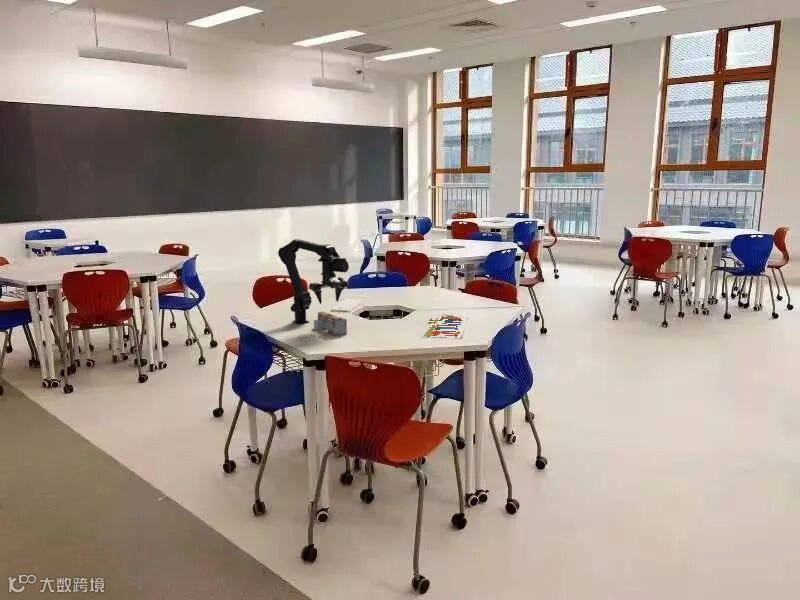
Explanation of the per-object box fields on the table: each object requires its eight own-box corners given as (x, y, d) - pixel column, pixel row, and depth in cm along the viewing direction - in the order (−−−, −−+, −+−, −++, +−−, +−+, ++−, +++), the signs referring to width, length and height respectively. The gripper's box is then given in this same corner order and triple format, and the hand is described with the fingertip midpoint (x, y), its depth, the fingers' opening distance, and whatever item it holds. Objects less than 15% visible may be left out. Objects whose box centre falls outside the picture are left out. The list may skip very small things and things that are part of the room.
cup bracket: (327, 333, 282) (327, 318, 281) (340, 331, 286) (340, 317, 284) (333, 336, 277) (333, 321, 276) (346, 333, 281) (346, 319, 280)
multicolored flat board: (432, 312, 318) (468, 313, 315) (432, 316, 319) (468, 318, 315) (419, 332, 275) (461, 335, 272) (419, 338, 275) (461, 340, 272)
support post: (314, 328, 292) (313, 320, 291) (328, 325, 297) (328, 317, 296) (317, 329, 289) (317, 321, 288) (332, 327, 293) (332, 319, 293)
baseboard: (365, 302, 357) (346, 301, 359) (365, 297, 356) (345, 296, 359) (351, 313, 327) (330, 312, 329) (351, 308, 327) (330, 307, 329)
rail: (317, 319, 293) (317, 312, 292) (323, 318, 295) (323, 311, 294) (335, 326, 279) (335, 319, 278) (341, 325, 280) (341, 318, 280)
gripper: (318, 274, 279) (319, 307, 282) (353, 271, 289) (353, 302, 292) (307, 271, 288) (308, 303, 291) (341, 268, 298) (342, 299, 301)
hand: (328, 302), depth 293 cm, fingers open, 9 cm apart
